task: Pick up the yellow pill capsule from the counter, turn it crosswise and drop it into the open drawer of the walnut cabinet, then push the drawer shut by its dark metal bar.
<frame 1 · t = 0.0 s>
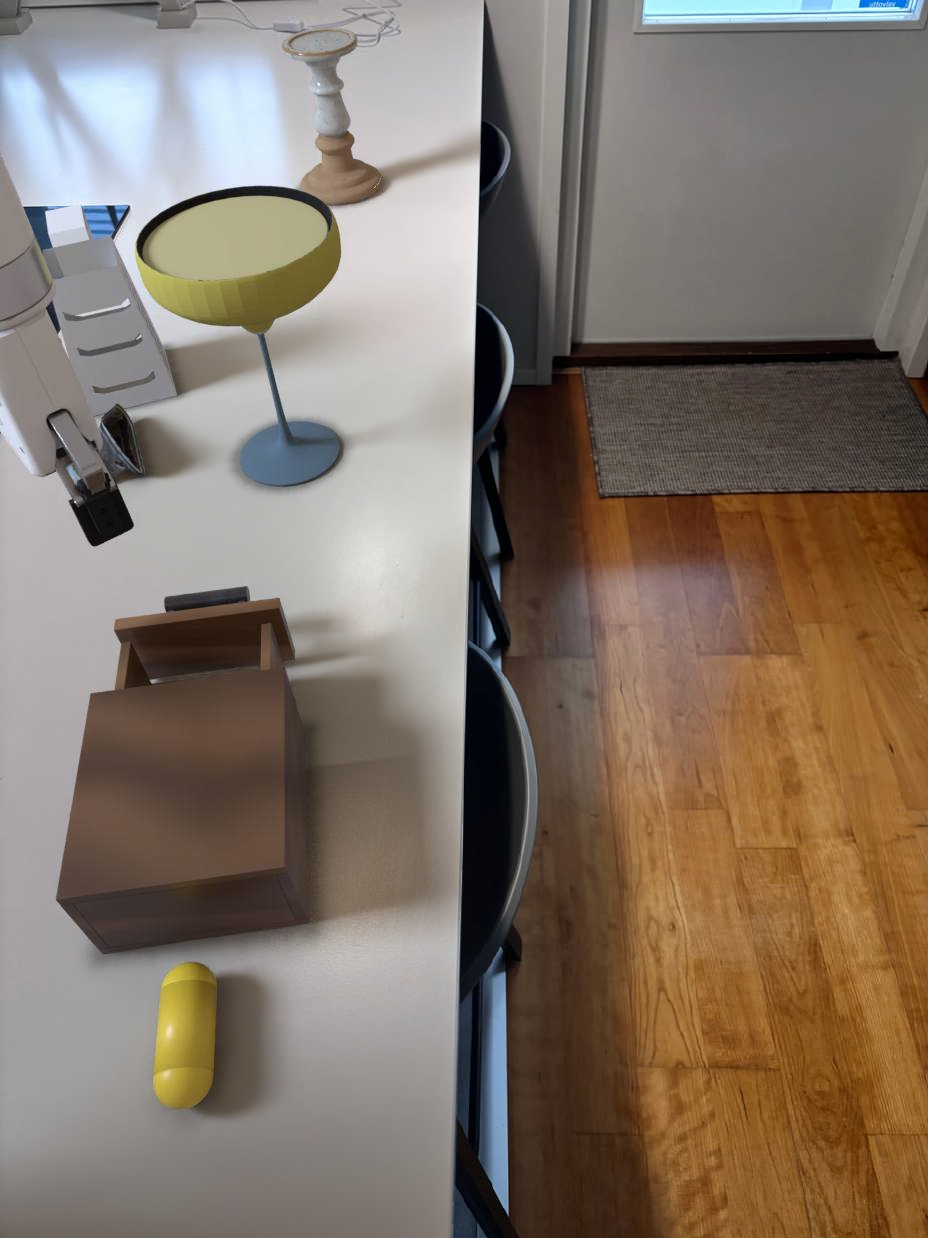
hand: (85, 500, 68), 20 cm above the counter, tool pointing down, fingers open, 9 cm apart
candle holder: (342, 188, 145), on the counter
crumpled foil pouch: (104, 460, 104), on the counter
drawer: (204, 688, 76), point 4 cm above the counter, slide at 7.0 cm
cocktail glass: (290, 455, 103), on the counter
grater: (127, 383, 113), on the counter
yellow pill capsule: (193, 1042, 62), on the counter
cabinet: (211, 834, 72), on the counter
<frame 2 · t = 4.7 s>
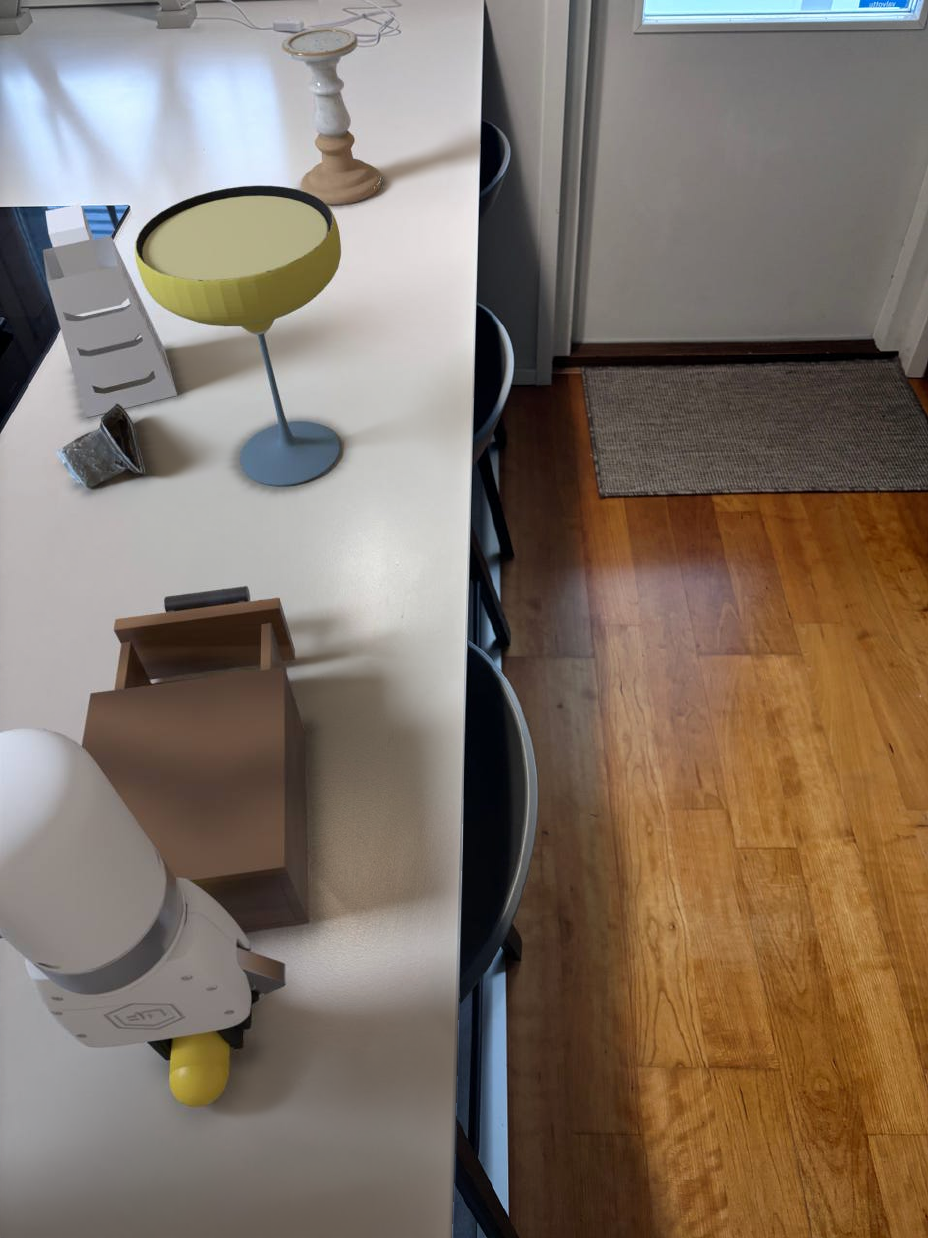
hand: (206, 1029, 62), 1 cm above the counter, tool pointing down, fingers closed on yellow pill capsule, 3 cm apart
yellow pill capsule: (192, 1040, 62), on the counter, tilted 34°, touching gripper
everything else where it was.
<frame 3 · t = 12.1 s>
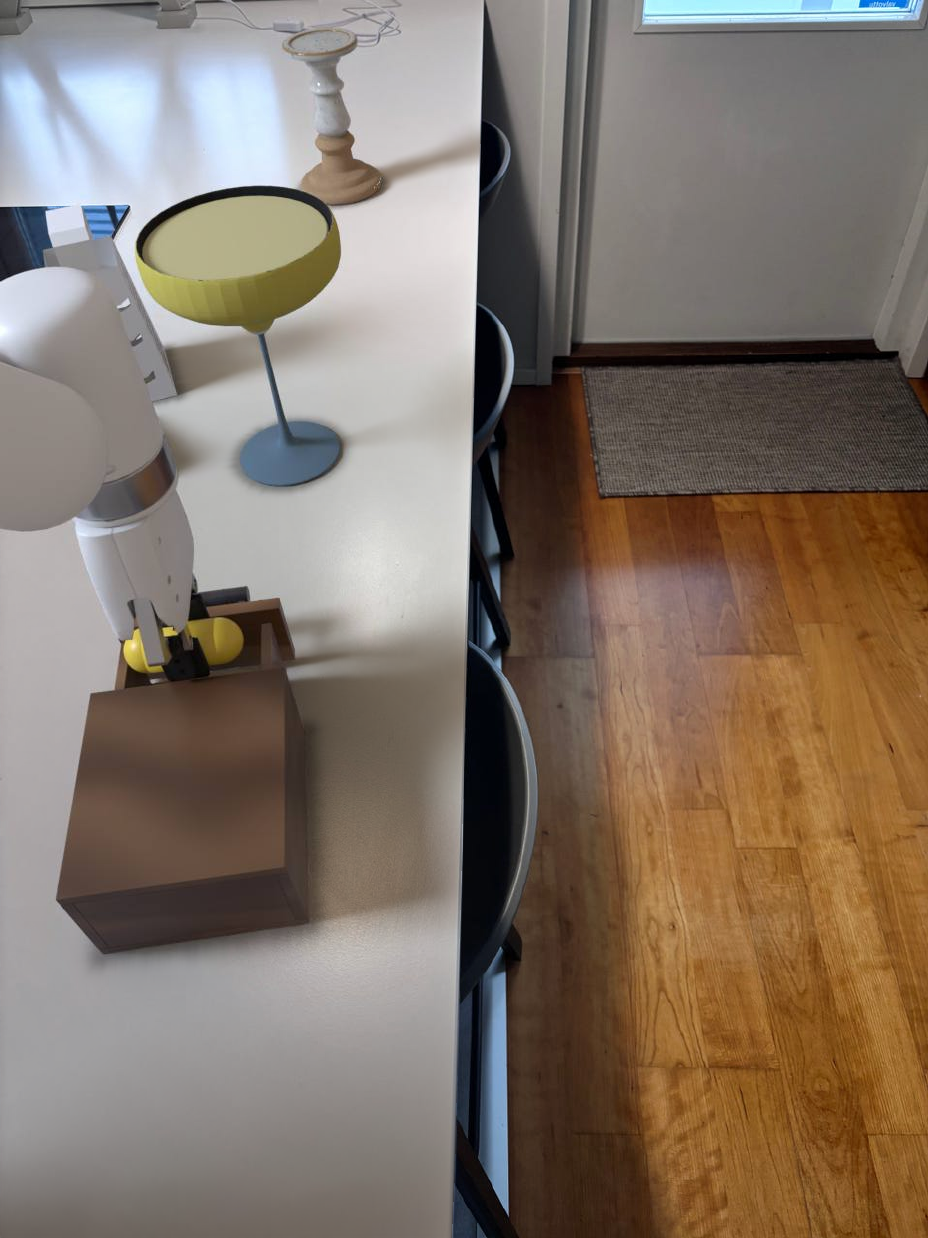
hand: (191, 652, 73), 8 cm above the counter, tool pointing down, fingers closed on yellow pill capsule, 3 cm apart
yellow pill capsule: (189, 647, 74), point 8 cm above the counter, tilted 36°, touching gripper
everything else where it was.
when the fingers open (10 cm above the counter, at t = 18.5 s): yellow pill capsule drops 7 cm, resting on drawer.
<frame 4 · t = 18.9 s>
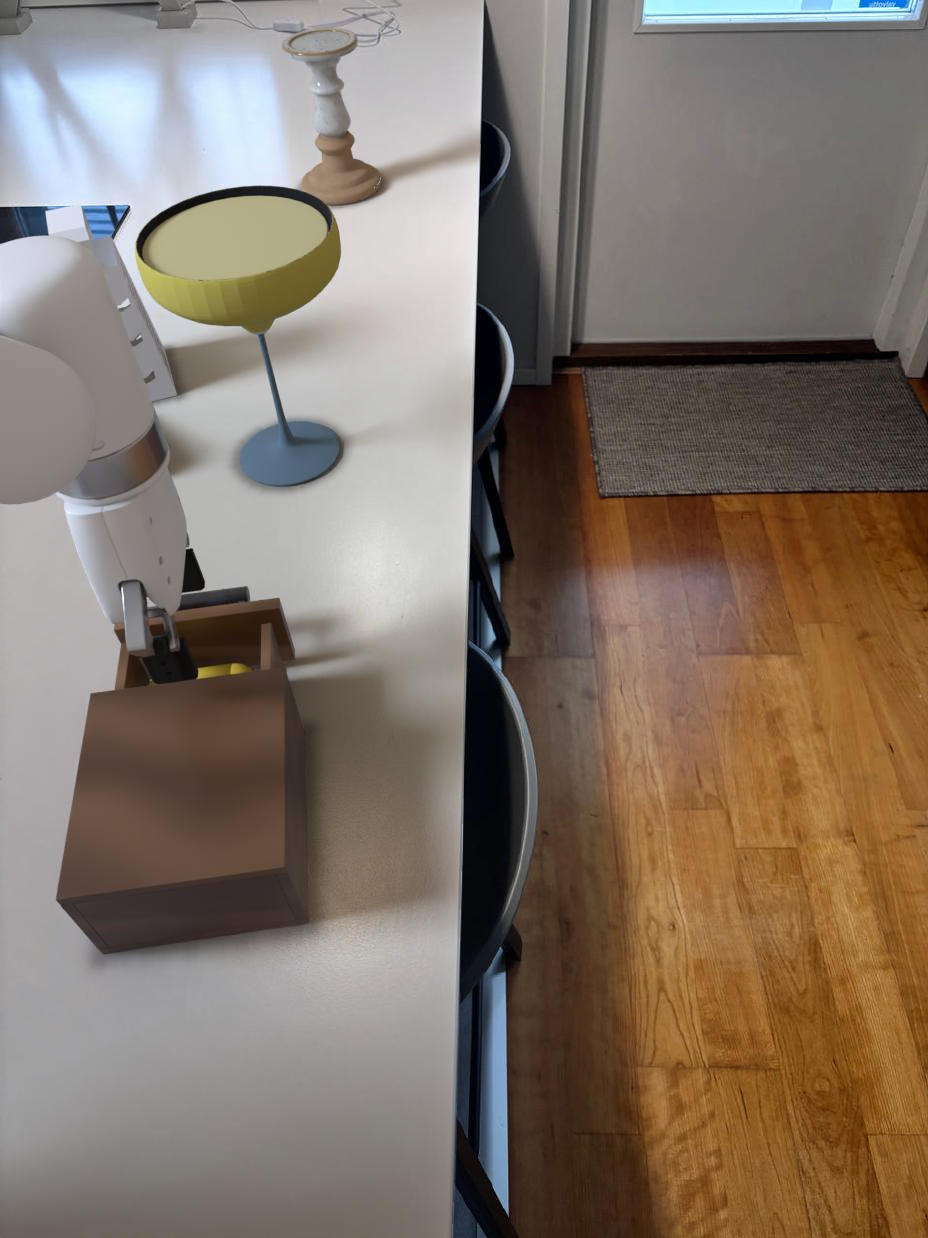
hand: (181, 631, 71), 11 cm above the counter, tool pointing down, fingers open, 8 cm apart
drawer: (204, 688, 76), point 4 cm above the counter, slide at 7.0 cm, touching yellow pill capsule
yellow pill capsule: (208, 692, 79), point 2 cm above the counter, tilted 31°, touching drawer
everything else where it was.
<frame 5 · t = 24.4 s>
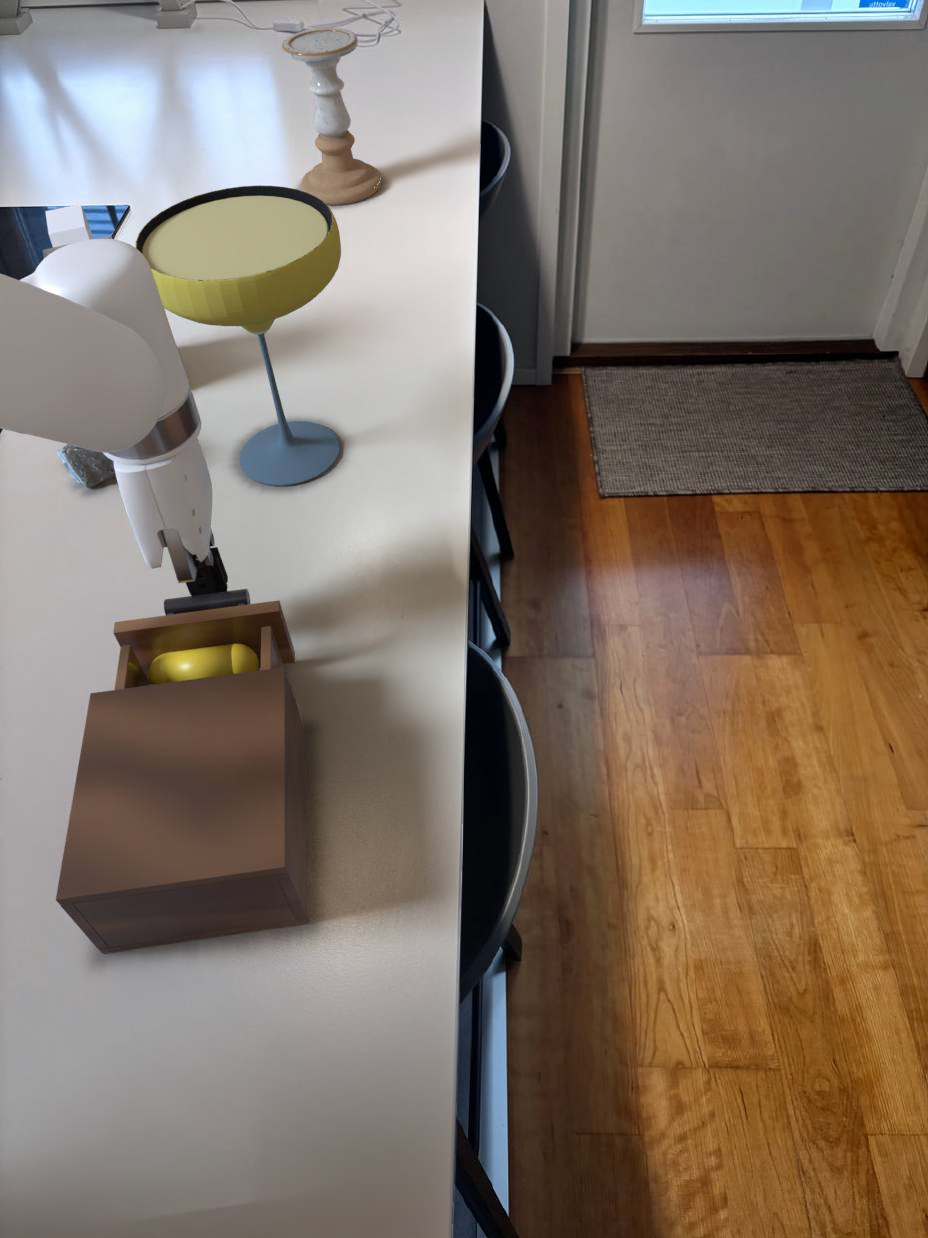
hand: (210, 587, 83), 5 cm above the counter, tool pointing down, fingers closed
drawer: (204, 691, 76), point 4 cm above the counter, slide at 6.7 cm, touching yellow pill capsule, gripper
yellow pill capsule: (207, 691, 78), point 3 cm above the counter, tilted 46°, touching drawer
everything else where it was.
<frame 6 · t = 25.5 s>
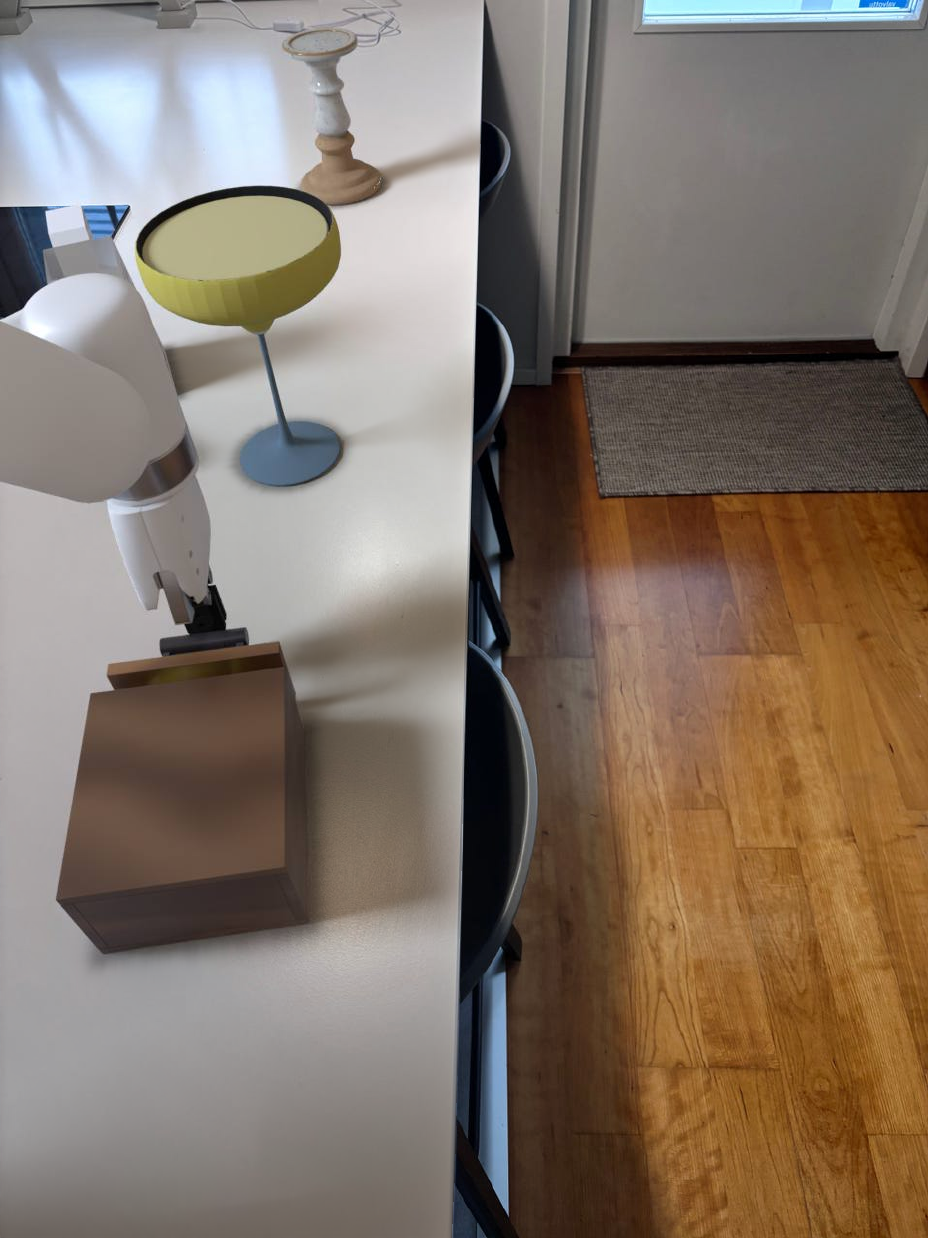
hand: (208, 625, 80), 5 cm above the counter, tool pointing down, fingers closed
drawer: (201, 737, 73), point 4 cm above the counter, slide at 2.3 cm, touching yellow pill capsule, gripper
yellow pill capsule: (204, 736, 75), point 2 cm above the counter, tilted 42°, touching drawer
everything else where it was.
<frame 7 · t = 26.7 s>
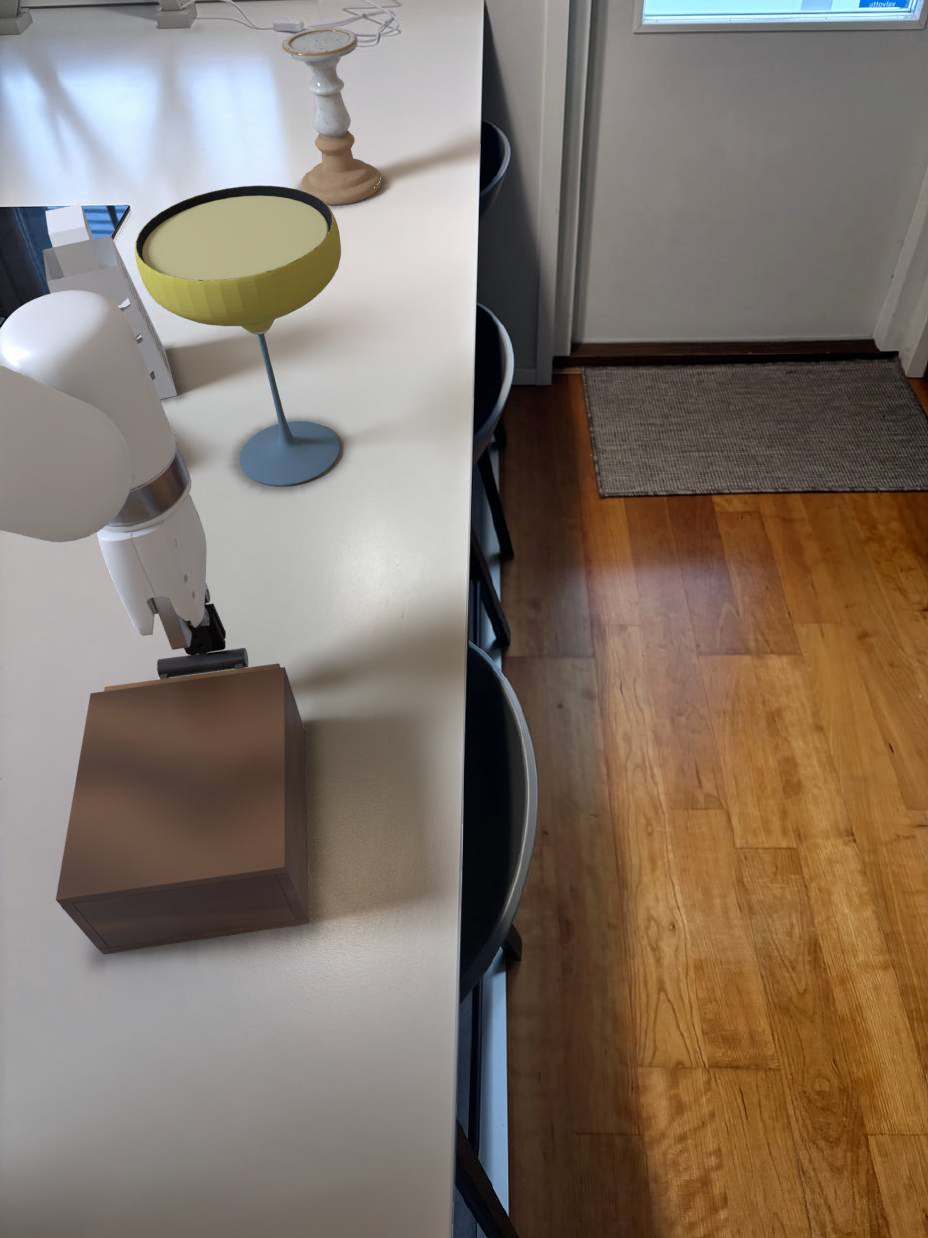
hand: (207, 644, 78), 6 cm above the counter, tool pointing down, fingers closed
drawer: (199, 761, 72), point 4 cm above the counter, slide at 0.0 cm, touching yellow pill capsule, cabinet, gripper
yellow pill capsule: (203, 764, 74), point 2 cm above the counter, tilted 19°, touching drawer
everything else where it was.
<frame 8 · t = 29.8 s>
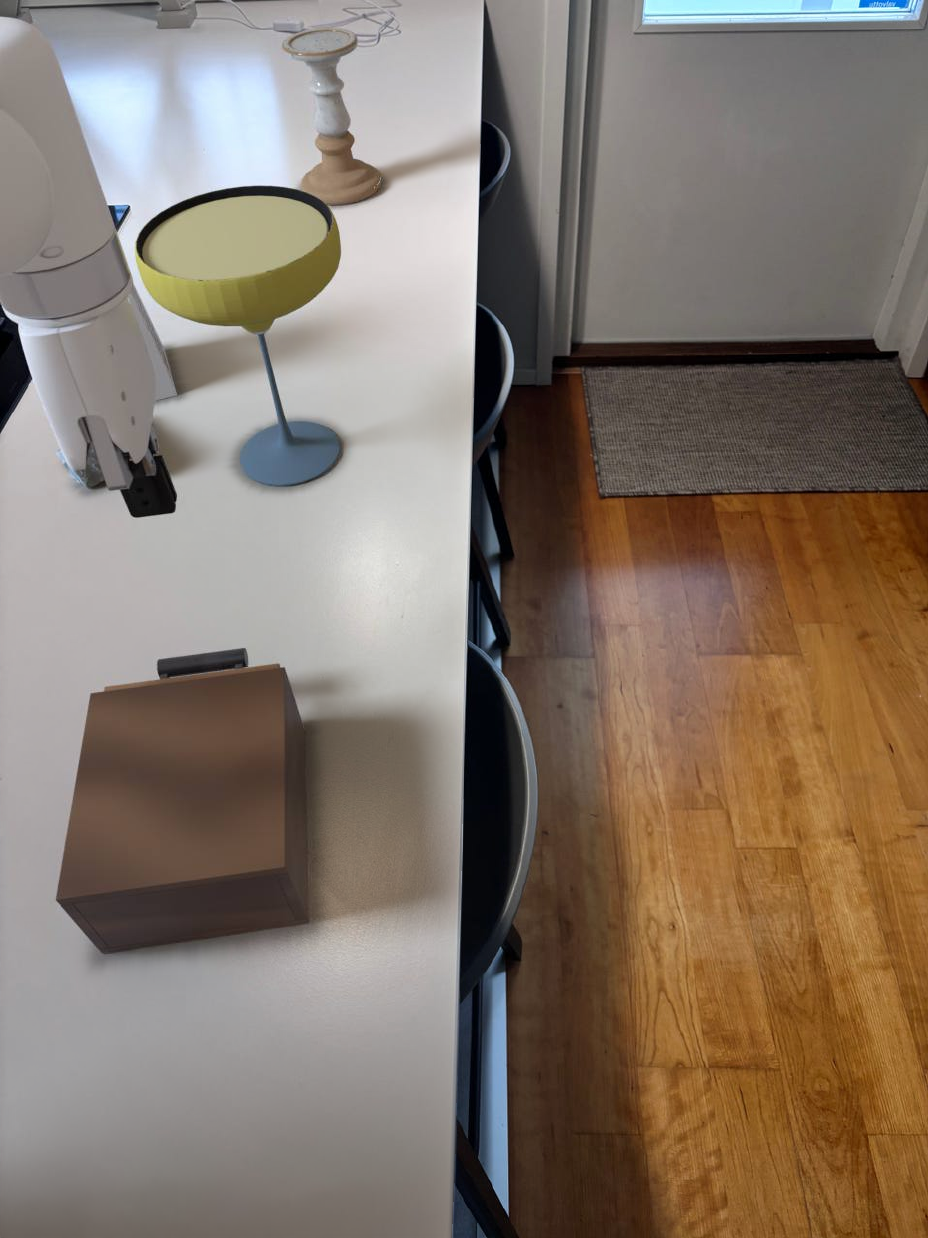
hand: (155, 507, 69), 19 cm above the counter, tool pointing down, fingers closed
drawer: (199, 761, 72), point 4 cm above the counter, slide at 0.0 cm, touching yellow pill capsule, cabinet
yellow pill capsule: (188, 864, 66), point 4 cm above the counter, tilted 105°, touching drawer
everything else where it was.
at the end: yellow pill capsule inside the target area in the cabinet (4.7 cm from its centre), point 4.3 cm above the cabinet's base; drawer slide at 0.0 cm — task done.
